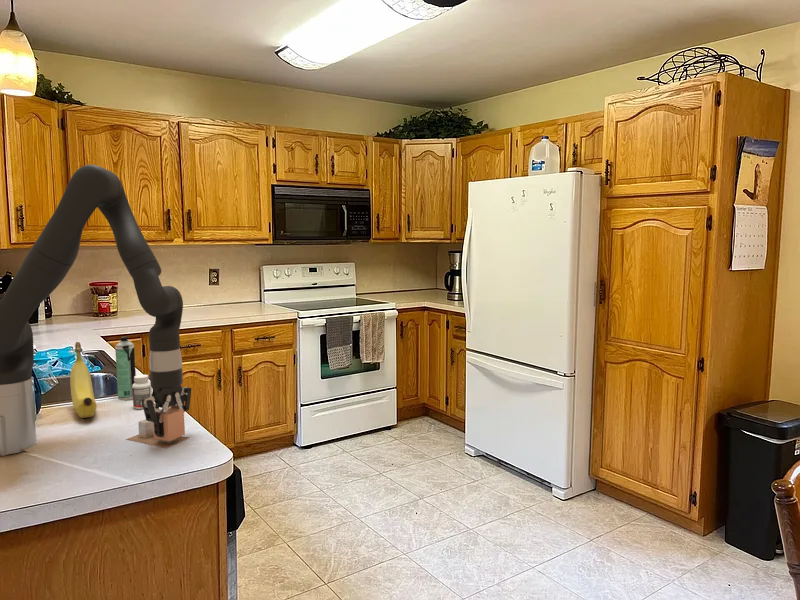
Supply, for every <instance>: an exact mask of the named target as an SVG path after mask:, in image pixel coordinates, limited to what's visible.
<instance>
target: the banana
mask: <svg viewBox="0 0 800 600" xmlns="http://www.w3.org/2000/svg"><path fill="white" fill-rule="evenodd" d="M74 348H75V349H74V350H75V352H76V359H75V361H74V363H73V365H72V368H71V370H70V376H69V382H70V383H69V385H70V395H71V396H70V397H71V402H72V406H73V409H74V410H75V412H76V414H77V416H78V417H80V418H83V419H84V418H85V419H86V418H90V417H93V416H94V415H95V413H96V410H97V402H96V398H95V394H94V389H93V387H94V386H93V383H92V377H91V373H90V370H89V368H88V366H87V365H86V363H85V362H84V361H83V359H82V355H81V351H82V346H81V343H80V342H79V341H76V342H75V345H74Z"/></svg>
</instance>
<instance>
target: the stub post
mask: <svg viewBox="0 0 800 600" xmlns="http://www.w3.org/2000/svg"><path fill="white" fill-rule="evenodd" d="M137 422H138V423H137V424H138V434H139V437H142V438H149V437H152V436H154V434H153V422H150V421H147V420H146V418H145V419H143V420H139V421H137Z"/></svg>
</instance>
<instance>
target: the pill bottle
mask: <svg viewBox="0 0 800 600" xmlns="http://www.w3.org/2000/svg"><path fill="white" fill-rule="evenodd" d="M149 380H150V377H149V375H148V374H137V375H136V376H134V381H135V383H134V384H133V385H132V391H133V399H132V404H133V405H132V406H133V409H135V410H143V406H142V399H148V398H150V397H151V395H152V392H153V389H152V387H151V384H150V381H149Z"/></svg>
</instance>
